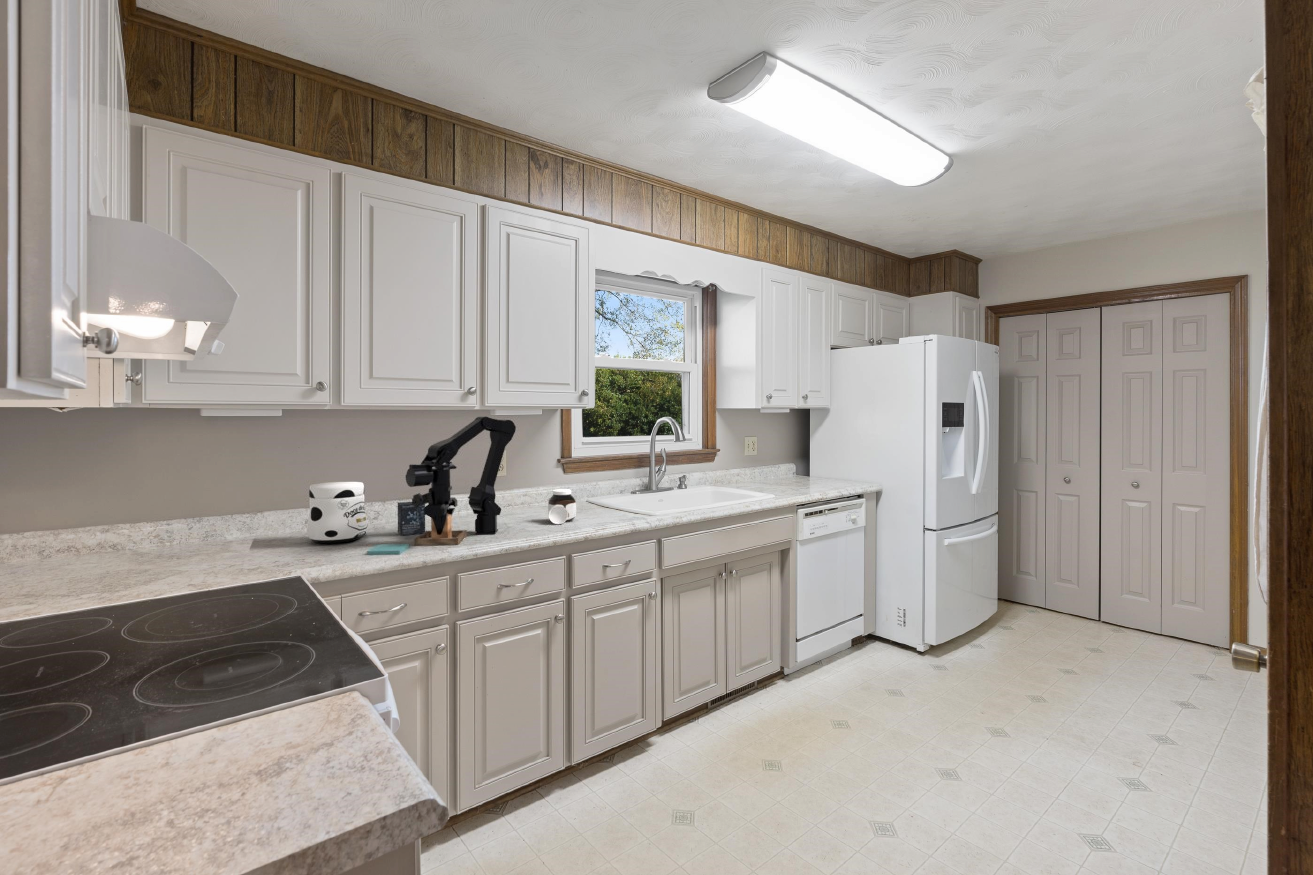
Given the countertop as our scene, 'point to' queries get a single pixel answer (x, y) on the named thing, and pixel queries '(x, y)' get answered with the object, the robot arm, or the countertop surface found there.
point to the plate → (388, 549)
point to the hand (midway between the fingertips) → (441, 532)
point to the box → (410, 519)
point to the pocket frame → (440, 539)
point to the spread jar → (561, 506)
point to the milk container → (336, 512)
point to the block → (446, 530)
